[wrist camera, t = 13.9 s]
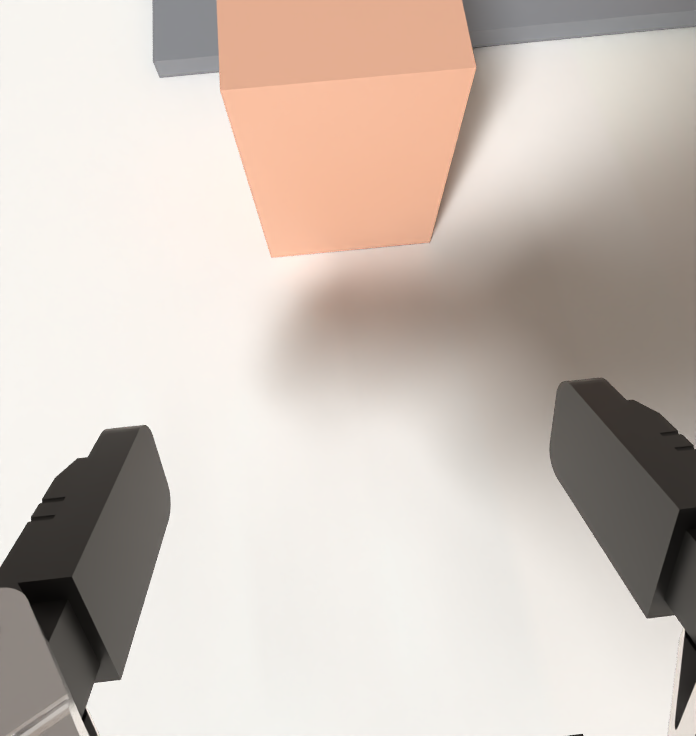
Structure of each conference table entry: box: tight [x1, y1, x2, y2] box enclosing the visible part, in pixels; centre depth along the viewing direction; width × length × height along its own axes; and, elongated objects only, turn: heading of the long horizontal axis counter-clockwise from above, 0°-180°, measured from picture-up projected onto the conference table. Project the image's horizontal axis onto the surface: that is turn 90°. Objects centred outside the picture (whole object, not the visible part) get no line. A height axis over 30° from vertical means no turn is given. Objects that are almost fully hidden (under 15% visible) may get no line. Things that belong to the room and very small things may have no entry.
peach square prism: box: [217, 0, 476, 258], centre depth 17 cm, size 6×6×8 cm
